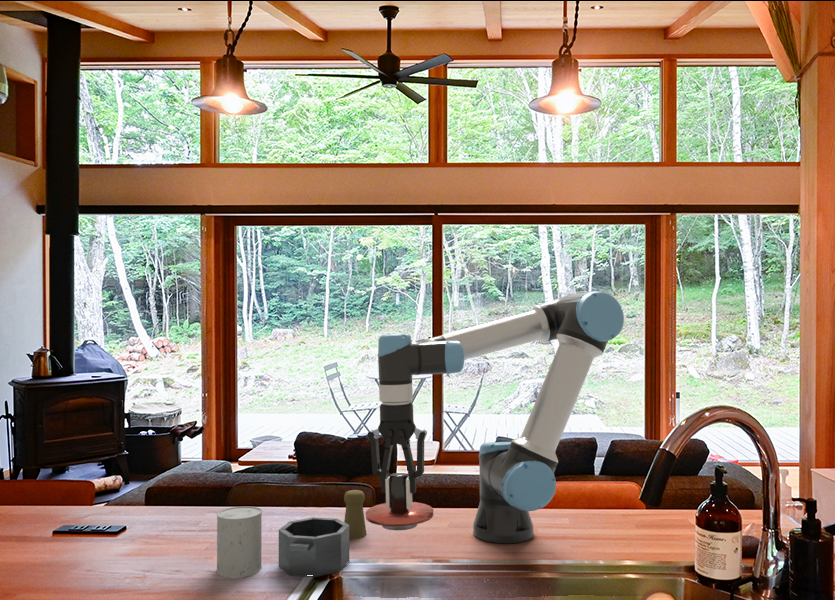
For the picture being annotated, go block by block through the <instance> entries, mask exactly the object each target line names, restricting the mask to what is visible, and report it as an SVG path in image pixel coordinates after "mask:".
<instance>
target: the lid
mask: <svg viewBox="0 0 835 600" xmlns="http://www.w3.org/2000/svg"><path fill="white" fill-rule="evenodd" d="M389 476H390V509H386V502H384V503H380V504H376V505H373V506H371V507H370V508H368V509H367V510H366V511H365V521H366V522H369V523H371V524H372V525H377V526H381V527H382V528H383V529H386V530H389V531H407V530H411V529H414V528H416V527H418V524H419V525H420V524H423V523H425V522H427V521H430V520H431V519H433V518H434V507H432V506H430V505H429V504H426V503H422V502H416V501H412V507H411V509H407V502H406V479H407V478H408V473H404V472H396V473H392V474H389Z"/></svg>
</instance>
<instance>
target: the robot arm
mask: <svg viewBox="0 0 835 600" xmlns="http://www.w3.org/2000/svg"><path fill="white" fill-rule="evenodd" d="M624 320H625V317H624V311H623V309H622V306H621V304H620V302H619V301H618V300H617V299H616V298H615V297H614V296H613V295H611V294H609V293H607V292H603V291H597V290H596V291H595V290H590V291H587V292H578V293H569V294H567V295H564V296H561V297H558V298H556V299H553V300H550V301H548V302H545V303H542V304H538V305H534V306H533V307H532V308H531V311H526V312H523V313H519V314H515V315H512V316H507V317H505V318H501V319H498V320H493V321H490V322H486V323H481V324H478V325H475V326H471V327H467V328H463V329H459V330H455V331H451V332H447V333H444V334H442V335H438V336H433V337H430V338H422V339H421V338H420V339H418V340H415V341H413V339H412V336H411V335H410V334H409V333H390V334H382V335H380V336H379V338H378V343H377V344H378V347H377V348H378V351H377V362H378V363H377V364H378V385H379V386H378V387H379V388H378V389H379V391H378V395H379V397H378V399H379V401H380V402H381V403H380V405H379V425H378V427H377V428H376V429H375V428H374V429H371V430H370V431H368V432H367V437H368V440H369V443H370V454H371V456H370V457H371V470H372V475H373V476H375V477H376V476H377V477H379V478H380V485H381V486H380V488H381V489H380V491H381V493H384V494H385V503H386V509H390V472H389V470H390V465H391V460H392V459H391V458H392V454H393V448H394V445H399V446H401V449H402V451H403V452H402V453H403V457H404V461H405V465H406V469H407V479H406V502H407V509H411V507H412V502H413V494H415V493H416V492H417V478H418V477H421V476H422V475H424V473H425V439H426V437H427V434H428V431H427V430H425V429H423V430H422V429H419V428H418V427H417V426H416V425H415V423H414V404H413V403H412V401H413V397H414V396H413V395H414V393H413V391H414V390H413V376H418V375H442V374H443V375H450V374H457V373H461V372H462V370H463V368H464V365H465V360H468V359H469V360H470V359H473V358H477V357H480V356H484V355H487V354H492V353H495V352H498V351H499V352H500V351H501V350H506V349H510V348H513V347H516V346H521V345H524V344H528V343H531V342H535V341H538V340H539V341H541V342H543V343H546V342H549V341H550V342H551V341H555V340H557V341H558V344H559V345H558V347H557V350H556V351H555V354H554V356H553V359H552V362H551V364H550V366H549V369H548V370H547V374H546V375H545V377H544V381H543V382H542V385H541V387H540V390H539V392H538V395H537V397H536V400H535V401H534V404H533V406H532V410H531V412H530V414H529V416H528V419H527V421H526V424H525V426H524V428H523V430H522V433H521V435H520V436H519V437H517V438H514V439H512V440H511V441H496V442H495V441H494V442H485V443H482V444H481V445H480V447H479V454H478V459H479V463H478V464H479V505H478V508H477V511H476V514H475V518H474V521H473V526H472V528H473V529H472V533H473V535H474V537H476V538H478V539H480V540H482V541H485V542H489V543H496V544H517V543H518V544H519V543H523V542H526V541H529V540H532V539H533V538H534V535H535V534H534V533H535V532H534V531H535V530H534V524H533V521H532V517H531V514H530V512H534V511H539V510H540V509H543V508H544V507H546V506H547V505H548V504H549V503H550V502H551V501H552V499H553V497H554V496H555V494H556V489H557V481H556V480H557V479H556V477H555V471H556V469H557V466H558V464H559V460H558V456H557V454H556V451H557V447H558V446H559V443H560V441H561V439H562V436H563V434H564V431H565V429H566V426H567V424H568V421H569V419H570V417H571V414H572V412H573V409H574V407H575V404H576V401H577V400H578V397H579V394H580V392H581V390H582V387H583V385H584V383H585V380H586V377H587V375H588V373H589V370H590V368H591V366H592V363H593V361H594V359H595V358H598V357H600V356H602V355H603V354H604V352H605V350H606V347H607V344H608V342H610V341H612V340H614V338H616V337H617V336H618V335H619V334H620V333H621V332H622V330H623V326H624V322H625V321H624ZM414 434H415V439H416V440H417V441H416V466H415V462H414V461H415V460H414V458H413V454H412V448H411V442H410V439H411V438H412V436H413V435H414ZM380 435H381V436H382V438H383V439H384V440H385V442H384V451H383V459H382V464H381V460H380V457H381V456H380V447H379V445H380V443H379V438H380Z"/></svg>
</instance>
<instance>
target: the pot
mask: <svg viewBox="0 0 835 600" xmlns="http://www.w3.org/2000/svg"><path fill="white" fill-rule="evenodd" d="M348 561H349V562H350V538H349V525H348V524H346V523H344V521H343V520H340V519H338V518H334V517H333V518H329V517H315V516H314V517H308V518H301V519H298V520H297V519H296V520H291V521H288V522H287V523H286V524H284V525H283V526H282V527H280V528H279V529H278V568H280V569H281V570H282V571H283V572H285V573H286V574H287V575H289V576H296V577H297V576H298V577H308V576H307V575H313V576H314V577H313V578H318V577H321V576H326V575H329V574H335V573H339V572H342V571H343V569H344V568H345V567H346V566H345V564H346V563H347V562H348ZM349 562H348V563H349ZM348 563H347V564H348Z"/></svg>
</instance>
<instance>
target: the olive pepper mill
mask: <svg viewBox="0 0 835 600" xmlns="http://www.w3.org/2000/svg"><path fill="white" fill-rule="evenodd" d="M365 497H366V496H365V493H364V492H363V491H362V490H358V489H352V490H348V491H346V492H345V493H344V496H343V500H344V503H345V505H346V506H345V512H344V521H343V522H344V523H346V524H348V525H349V539H353V540H354V539H361V538H364V537H366V536H367V528H366V518H365V513H364V505H363V504H364V502H365V500H366V498H365Z"/></svg>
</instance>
